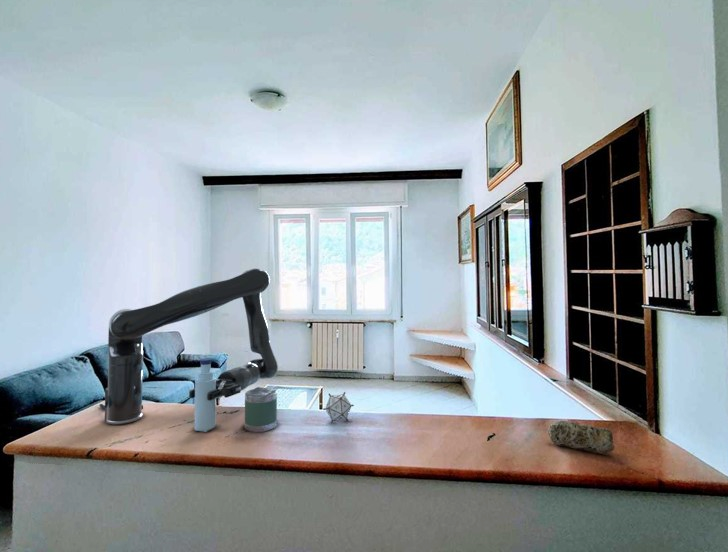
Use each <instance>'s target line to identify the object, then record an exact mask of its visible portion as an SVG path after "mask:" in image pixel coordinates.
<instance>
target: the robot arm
mask: <svg viewBox="0 0 728 552" xmlns="http://www.w3.org/2000/svg"><path fill="white" fill-rule="evenodd" d="M269 285H270V276H269V274H268V273H267V271H265V270H263V269H261V268H251V269H247V270H245V271H243V272H242V273H241V274H239V275H236V276H234V277H232V278H229V279H228V278H227V279H223V280H220V281H214V282H209V283H206V284H202V285H201V284H200V285H198V286H195V287H192V288H189V289H185V290H183V291H180V292H178V293H176V294H174V295H172V296H170V297H168V298H166V299H164V300H162V301H160V302H158V303H155V304H152V305H149V306H144V307H140V308H135V309H132V308H123V309H122V308H121V309H119V310H117V311H116V312H114V313H113V315H112V316H111V317H110V319H109V321H108V335H107V336H108V337H107V339H108V344H107V353H108V357H107V358H108V360H107V361H108V362H107V363H108V365H107V369H108V370H107V387H106V388H105V391H104V404H103V403H100V404H99V407H100V408H101V409H103V410H104V421H105V422H106V424H109V425H126V424H130V423H133V422H136V421H139V420H140V419H142V418H143V410H144V405H143V379H144V377H143V373H144V371H143V369H144V350H143V349H144V348H143V336H144V335H147V334H149V333H151V332H154V331H155V330H157V329H160V328H162V327H165V326H167V325H170V324H175V323H178V322H181V321H186V320H188V319H191V318H195V317H197V316H200V315H203V314H206V313H208V312H211V311H213V310H215V309H218V308H220V307H222V306H224V305H227V304H228V303H230V302H233V301H235V300H238V299H241V298H242V301H243V305H244V309H245V314H246V321H247V328H248V338H249V347H250V351H251V352H252V353H254V354H259V355H260V357H261V358H254V359H251V360H250V361H248V362H247V363H246V364H243V365H241V366H236V367H234V368H231V369H227V370H226V371H223V372H221V373H220V374H219V375H218V377H217V378H216V389H215V390H213V391H211V392H208V394H207V400H209V401H211V400H213V399H215V398H216V399H217V398H219V399H221V398H222V397H223V398H230V397H232V396H235V395H237V394H240V393H241V392H242V391H244V390H245V389H247V388H248V387H250V386H252V385H254V384H256V383H257V382H258V381H259V380H264V379H266V380H267V379H272V378H273V379H274V378H275V377H276V376H277V374H278V369H279V368H278V367H279V366H278V361H277V359H276V356H275V354H274V351H273V348H272V345H271V341H270V340H271V339H270V331H269V326H268V322H267V320H266V317H265V314H264V309H263V306H262V298H261V296H262V294H261V293H263V292H265V290H267V288H268V287H269ZM188 394H189V395H188V398H189V399H195V384H193V388H192V389H190V390H189V393H188Z"/></svg>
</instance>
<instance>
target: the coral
mask: <svg viewBox="0 0 728 552" xmlns="http://www.w3.org/2000/svg"><path fill="white" fill-rule="evenodd" d="M547 433H548V436H549V439H550V441H551V443H552V444H553V445H555V446H560V447H561V446H562V447H568V448H572V449H575V450H581V451H586V452H591V453H593V454H599V455H605V456H606V455H608V454H609V453H611V452H613V451H614V450H615V445H614V441H613V440H614V435H613V431H612V430H610V429H609V428H605V427H599V426H595V425H590V424H582V423H577V422H572V421H566V420H562V419H561V420H557V421H554V422H553V423H551V424H550V425H549V427H548V429H547Z"/></svg>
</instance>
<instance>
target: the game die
mask: <svg viewBox="0 0 728 552" xmlns="http://www.w3.org/2000/svg"><path fill="white" fill-rule="evenodd" d="M328 396H329V397H328V400H327V403H326V406H325V407H324V408H322V410H323V411H326V412H327V415H328V416H329V418H330V420H331V421H330V423H331V424H333V423H334V421H343V420H344V421H346V422H349V419H348V417H349V414H350V411H351V408H352V407H354V406H355V405H354V404H352V403H351V402H350V401H349V399H348V398H347V397H346V391H344V392H343V393H342V394H333V395H331V393H328ZM348 412H349V413H348Z"/></svg>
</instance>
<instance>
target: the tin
mask: <svg viewBox="0 0 728 552" xmlns="http://www.w3.org/2000/svg"><path fill="white" fill-rule="evenodd" d="M277 392H278V391H277V389H276V388H271V387H259V386H257V387H255V388H252V389H249V390H247V391H246V392H245V393H244V429H245V430H246V431H248V432H252V433H262V432H268V431H271V430H273V429H275V428H276V427H277V417H278V415H277V414H278V393H277Z"/></svg>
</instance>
